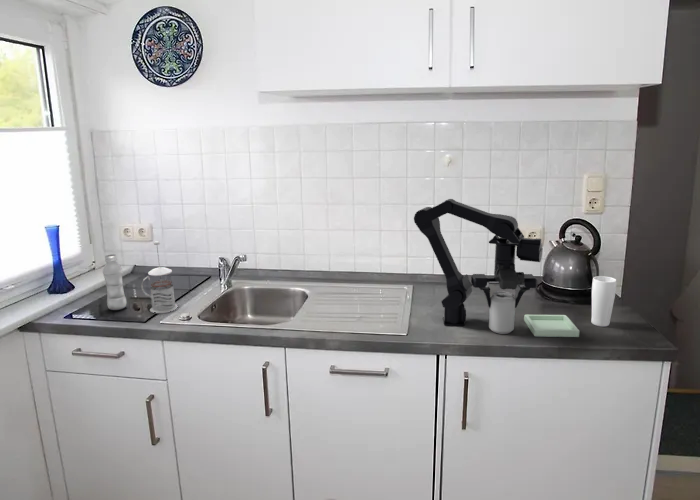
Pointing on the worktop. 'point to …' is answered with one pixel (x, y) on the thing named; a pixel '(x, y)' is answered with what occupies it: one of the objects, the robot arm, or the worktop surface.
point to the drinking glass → (602, 300)
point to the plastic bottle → (114, 283)
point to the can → (502, 312)
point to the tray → (551, 326)
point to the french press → (161, 290)
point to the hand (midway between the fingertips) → (502, 307)
